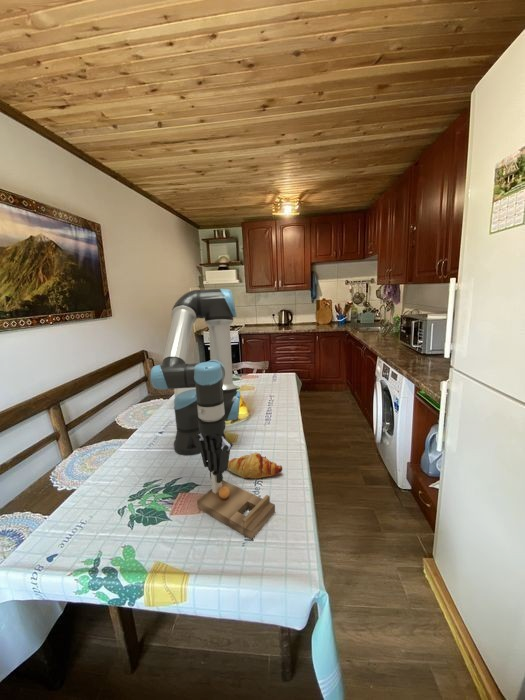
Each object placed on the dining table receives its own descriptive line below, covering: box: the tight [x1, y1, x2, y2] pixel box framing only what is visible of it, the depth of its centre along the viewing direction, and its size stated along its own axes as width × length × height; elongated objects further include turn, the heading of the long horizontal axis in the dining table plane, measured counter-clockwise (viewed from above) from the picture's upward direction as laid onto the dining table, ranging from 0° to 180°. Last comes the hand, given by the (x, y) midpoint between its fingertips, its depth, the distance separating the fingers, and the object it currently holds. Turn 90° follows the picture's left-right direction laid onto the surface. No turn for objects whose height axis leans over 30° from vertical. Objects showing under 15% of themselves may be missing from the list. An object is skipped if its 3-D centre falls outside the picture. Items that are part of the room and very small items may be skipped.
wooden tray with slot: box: [196, 480, 276, 540], centre depth 82 cm, size 20×11×4 cm, turn 55°
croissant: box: [227, 452, 283, 479], centre depth 99 cm, size 21×10×8 cm, turn 77°
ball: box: [219, 486, 230, 499], centre depth 84 cm, size 3×3×3 cm
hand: (217, 490), depth 85 cm, fingers closed
